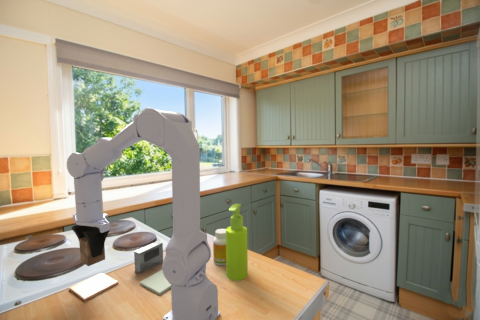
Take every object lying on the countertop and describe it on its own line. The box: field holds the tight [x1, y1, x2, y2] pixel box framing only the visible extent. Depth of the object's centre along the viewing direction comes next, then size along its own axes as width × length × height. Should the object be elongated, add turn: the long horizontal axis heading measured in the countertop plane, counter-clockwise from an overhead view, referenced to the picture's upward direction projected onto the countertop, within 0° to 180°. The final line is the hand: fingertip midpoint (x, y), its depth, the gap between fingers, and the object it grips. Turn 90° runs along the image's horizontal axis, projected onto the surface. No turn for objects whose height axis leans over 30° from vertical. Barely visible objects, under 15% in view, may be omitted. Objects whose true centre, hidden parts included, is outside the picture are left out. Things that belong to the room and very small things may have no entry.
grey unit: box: [133, 240, 164, 275], centre depth 71 cm, size 3×8×6 cm, turn 147°
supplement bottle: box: [212, 228, 226, 266], centre depth 73 cm, size 5×5×10 cm
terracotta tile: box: [69, 272, 119, 302], centre depth 61 cm, size 8×8×1 cm
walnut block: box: [78, 237, 106, 267], centre depth 61 cm, size 4×4×6 cm
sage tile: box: [139, 269, 171, 296], centre depth 64 cm, size 8×8×1 cm
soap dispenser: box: [225, 203, 249, 282], centre depth 65 cm, size 6×7×20 cm
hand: (92, 253), depth 61 cm, fingers closed on walnut block, 4 cm apart
